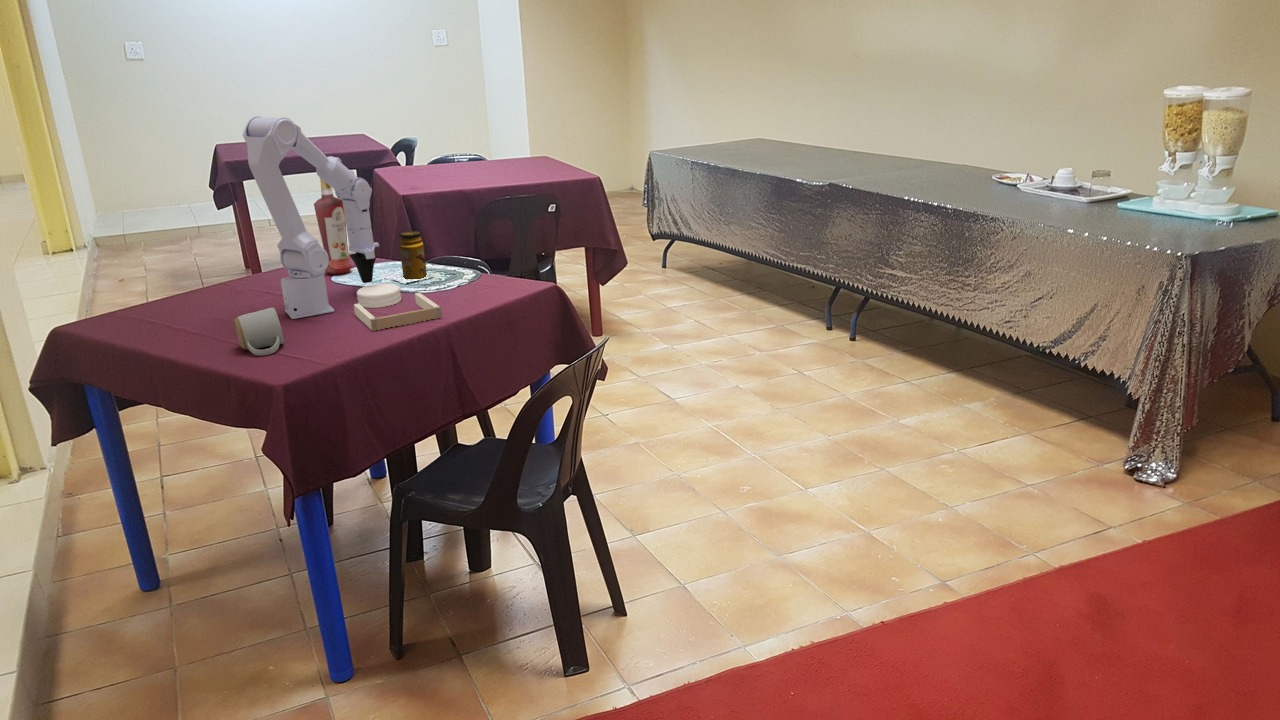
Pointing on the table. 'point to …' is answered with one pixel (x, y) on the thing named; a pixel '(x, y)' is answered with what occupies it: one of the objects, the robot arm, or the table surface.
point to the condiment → (412, 255)
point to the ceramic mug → (259, 331)
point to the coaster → (379, 295)
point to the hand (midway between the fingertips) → (367, 282)
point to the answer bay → (400, 315)
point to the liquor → (332, 230)
